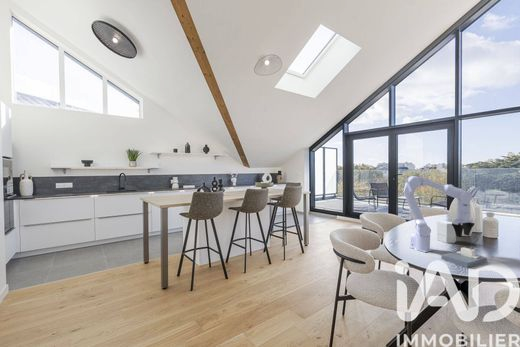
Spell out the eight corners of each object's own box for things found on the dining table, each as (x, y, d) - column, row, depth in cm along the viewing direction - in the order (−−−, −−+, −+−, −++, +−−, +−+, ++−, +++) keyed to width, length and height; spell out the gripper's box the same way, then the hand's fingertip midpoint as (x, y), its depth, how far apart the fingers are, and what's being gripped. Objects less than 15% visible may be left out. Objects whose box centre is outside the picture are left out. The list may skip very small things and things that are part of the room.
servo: (456, 257, 136) (456, 246, 136) (459, 256, 137) (459, 245, 137) (476, 263, 128) (476, 251, 127) (479, 262, 129) (479, 250, 129)
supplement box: (456, 242, 161) (456, 223, 160) (446, 243, 160) (446, 223, 159) (445, 239, 168) (446, 220, 168) (436, 239, 167) (436, 221, 167)
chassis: (441, 259, 133) (441, 254, 133) (460, 254, 140) (460, 250, 140) (467, 267, 122) (467, 263, 122) (486, 262, 129) (486, 257, 129)
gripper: (464, 214, 133) (463, 239, 134) (479, 212, 139) (478, 236, 140) (449, 212, 140) (449, 235, 140) (464, 210, 146) (464, 233, 146)
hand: (462, 235), depth 140 cm, fingers open, 7 cm apart
